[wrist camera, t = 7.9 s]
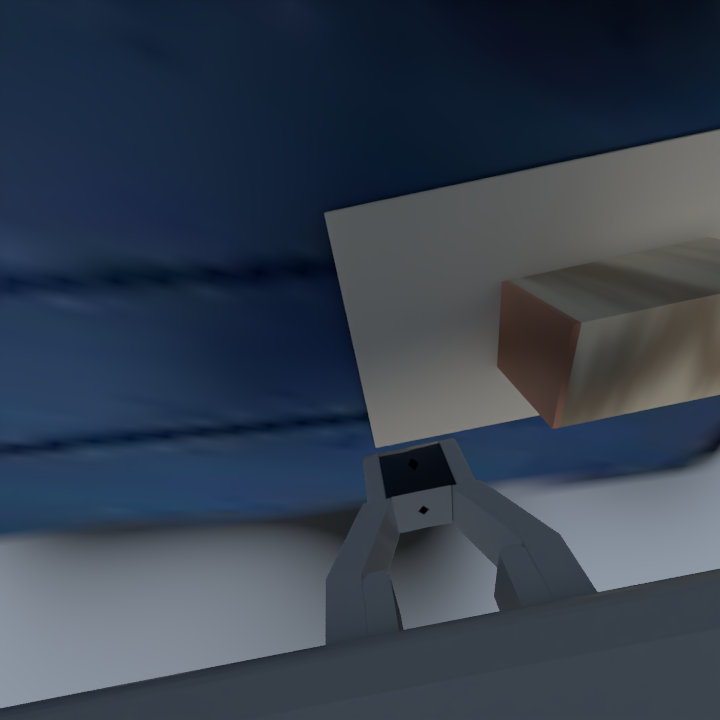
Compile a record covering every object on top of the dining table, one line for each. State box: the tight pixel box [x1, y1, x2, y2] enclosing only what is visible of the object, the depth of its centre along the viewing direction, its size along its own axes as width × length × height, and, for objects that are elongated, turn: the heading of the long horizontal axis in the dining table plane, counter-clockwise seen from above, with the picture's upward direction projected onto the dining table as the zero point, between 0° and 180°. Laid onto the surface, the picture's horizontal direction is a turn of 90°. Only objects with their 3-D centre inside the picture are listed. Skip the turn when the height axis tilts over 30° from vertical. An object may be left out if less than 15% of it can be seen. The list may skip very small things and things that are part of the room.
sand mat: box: [324, 129, 720, 448], centre depth 16 cm, size 14×20×1 cm
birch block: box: [497, 237, 720, 429], centre depth 14 cm, size 5×5×10 cm
